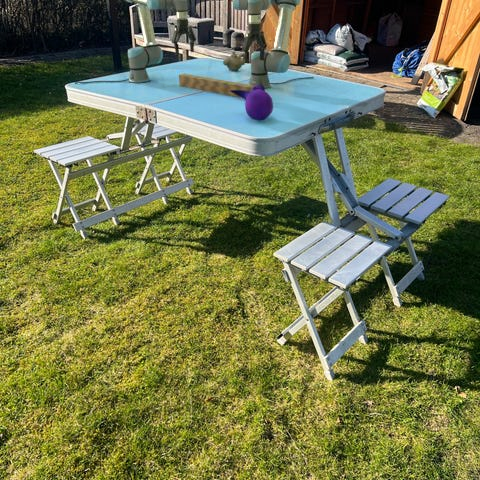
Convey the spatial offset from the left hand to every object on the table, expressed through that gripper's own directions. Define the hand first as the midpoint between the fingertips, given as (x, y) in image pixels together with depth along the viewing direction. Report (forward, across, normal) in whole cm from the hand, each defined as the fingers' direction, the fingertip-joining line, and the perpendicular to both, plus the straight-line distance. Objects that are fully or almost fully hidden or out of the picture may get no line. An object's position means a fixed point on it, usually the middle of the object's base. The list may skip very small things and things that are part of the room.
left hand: (184, 53), depth 309 cm
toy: (+22, -32, -92) cm, 100 cm away
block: (+22, 0, -32) cm, 39 cm away
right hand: (0, 0, -64) cm, 64 cm away
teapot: (+22, +64, +13) cm, 69 cm away
